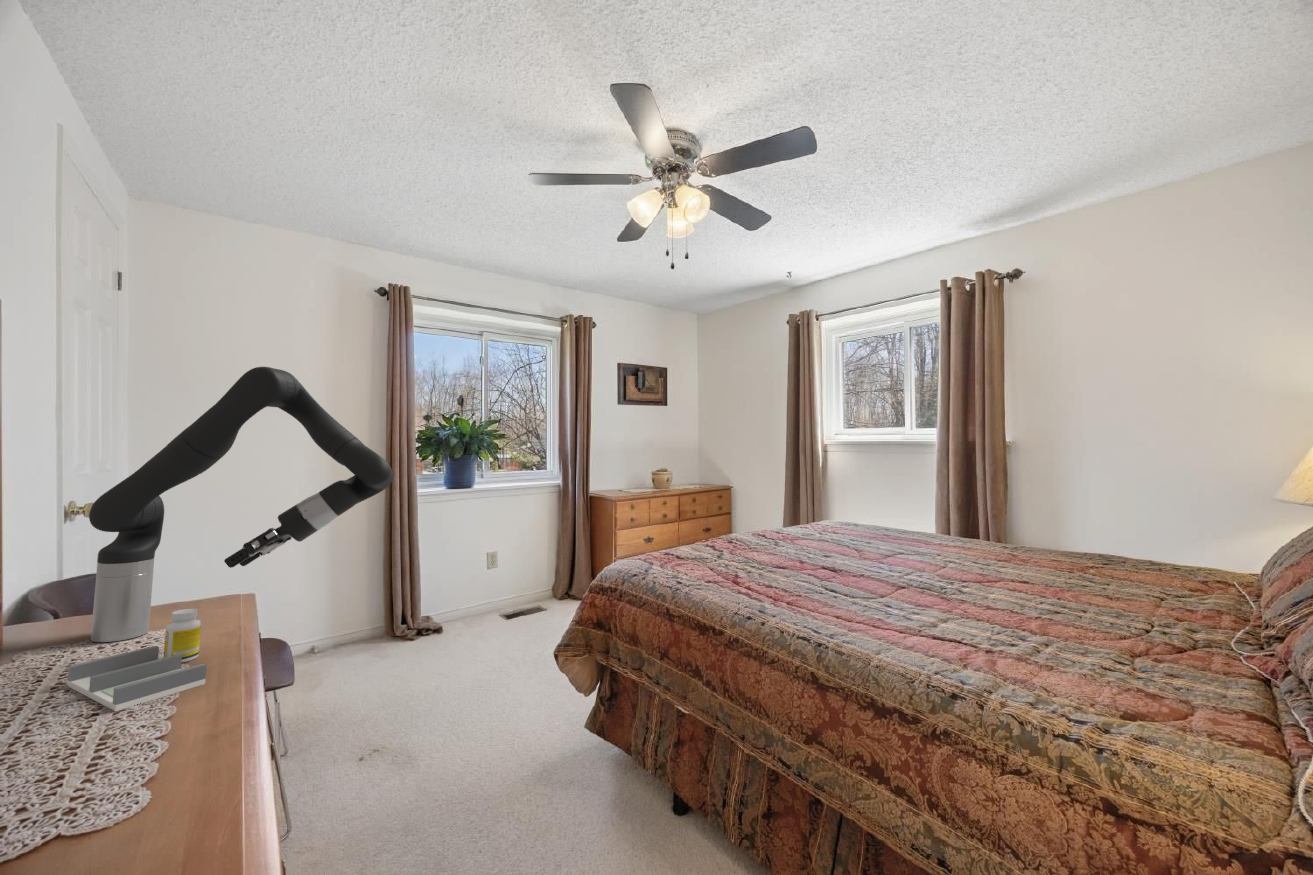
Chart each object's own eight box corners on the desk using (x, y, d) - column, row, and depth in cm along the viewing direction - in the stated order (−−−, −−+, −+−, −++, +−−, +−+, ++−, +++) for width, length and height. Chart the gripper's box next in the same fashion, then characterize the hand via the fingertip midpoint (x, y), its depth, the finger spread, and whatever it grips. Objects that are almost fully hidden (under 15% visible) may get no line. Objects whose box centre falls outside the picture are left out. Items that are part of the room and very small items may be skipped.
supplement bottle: (206, 655, 108) (209, 608, 108) (179, 665, 103) (183, 615, 103) (182, 653, 108) (186, 606, 109) (155, 663, 103) (159, 614, 104)
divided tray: (67, 685, 92) (68, 665, 92) (154, 663, 103) (156, 645, 103) (115, 711, 84) (117, 689, 84) (205, 683, 95) (206, 664, 95)
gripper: (304, 505, 124) (232, 550, 116) (291, 501, 111) (210, 550, 104) (324, 530, 124) (254, 575, 117) (314, 528, 112) (234, 579, 105)
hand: (233, 563), depth 110 cm, fingers open, 8 cm apart
